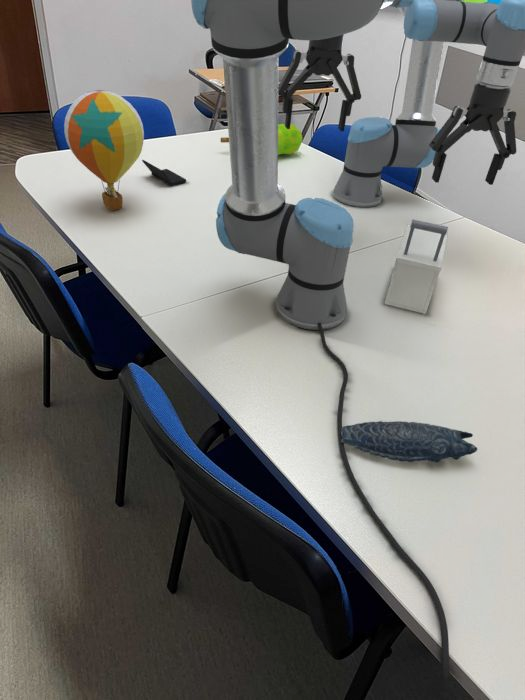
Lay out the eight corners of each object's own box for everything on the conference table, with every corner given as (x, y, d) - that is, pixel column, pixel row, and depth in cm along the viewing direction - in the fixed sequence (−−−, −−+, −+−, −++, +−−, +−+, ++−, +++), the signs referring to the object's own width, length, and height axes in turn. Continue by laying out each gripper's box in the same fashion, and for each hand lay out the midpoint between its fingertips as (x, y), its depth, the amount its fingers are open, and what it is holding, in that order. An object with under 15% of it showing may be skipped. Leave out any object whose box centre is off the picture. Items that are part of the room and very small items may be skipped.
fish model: (475, 475, 80) (486, 454, 77) (339, 458, 81) (344, 436, 78) (466, 443, 85) (476, 422, 82) (339, 427, 86) (344, 405, 83)
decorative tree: (217, 117, 188) (297, 117, 193) (217, 147, 194) (295, 146, 200) (224, 132, 174) (310, 131, 180) (224, 163, 181) (307, 162, 186)
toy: (64, 203, 145) (44, 85, 127) (127, 189, 156) (117, 79, 137) (97, 229, 134) (80, 105, 116) (162, 213, 145) (156, 96, 126)
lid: (439, 271, 107) (452, 233, 102) (395, 261, 110) (405, 223, 104) (446, 236, 121) (457, 201, 115) (406, 228, 123) (416, 192, 118)
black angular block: (190, 175, 164) (173, 153, 156) (179, 193, 163) (161, 172, 155) (166, 170, 170) (147, 148, 162) (155, 188, 169) (136, 167, 161)
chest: (425, 314, 115) (440, 270, 108) (384, 303, 117) (395, 260, 110) (432, 278, 128) (446, 236, 121) (395, 269, 130) (406, 228, 123)
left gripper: (376, 29, 119) (358, 126, 132) (269, 21, 115) (262, 122, 128) (386, 34, 114) (367, 135, 127) (275, 26, 110) (266, 131, 123)
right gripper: (444, 85, 107) (417, 185, 120) (556, 92, 110) (517, 189, 123) (432, 77, 113) (407, 173, 126) (538, 84, 116) (503, 177, 129)
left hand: (314, 128), depth 128 cm, fingers open, 13 cm apart
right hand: (462, 181), depth 125 cm, fingers open, 13 cm apart
